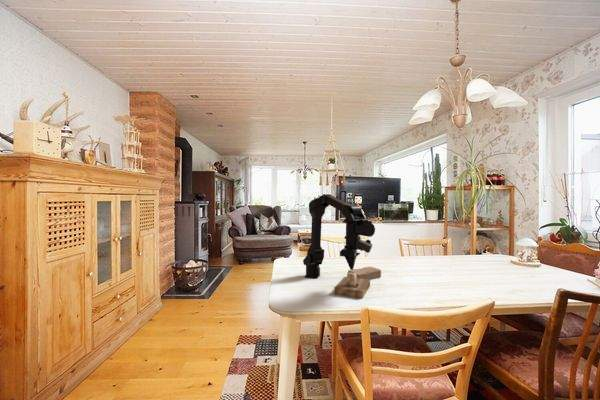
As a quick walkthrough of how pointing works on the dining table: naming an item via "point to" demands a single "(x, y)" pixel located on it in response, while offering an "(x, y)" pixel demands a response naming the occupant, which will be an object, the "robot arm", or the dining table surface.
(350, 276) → the peg
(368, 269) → the brick
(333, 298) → the dining table surface
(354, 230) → the robot arm
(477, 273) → the dining table surface
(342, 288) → the seat board
